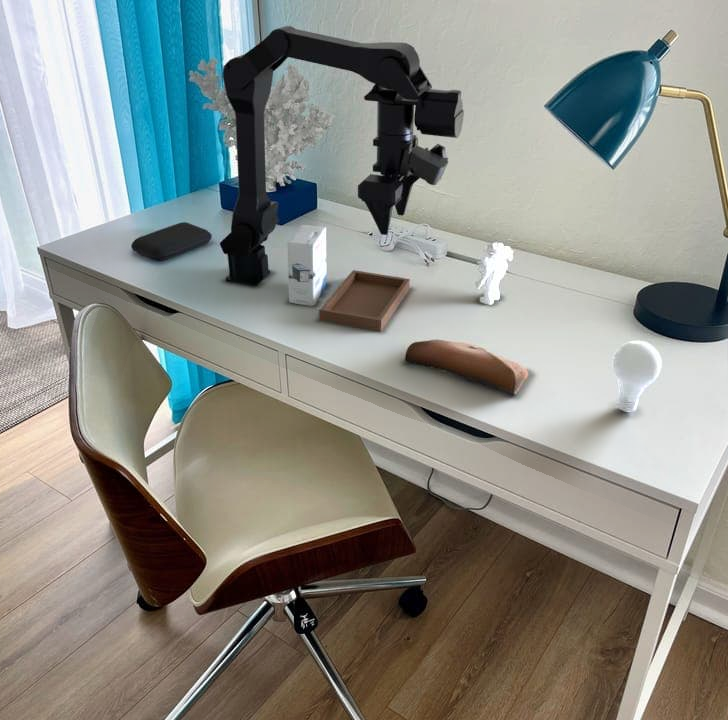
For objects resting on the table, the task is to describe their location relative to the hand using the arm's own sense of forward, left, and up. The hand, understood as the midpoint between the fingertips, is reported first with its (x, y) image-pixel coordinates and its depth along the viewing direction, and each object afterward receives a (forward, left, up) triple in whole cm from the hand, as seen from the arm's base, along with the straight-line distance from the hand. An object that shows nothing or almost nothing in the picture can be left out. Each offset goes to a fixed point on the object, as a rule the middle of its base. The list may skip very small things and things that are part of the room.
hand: (392, 224), depth 124 cm
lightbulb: (+42, -20, -15) cm, 49 cm away
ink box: (-15, -3, -15) cm, 21 cm away
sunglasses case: (+18, -17, -15) cm, 29 cm away
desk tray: (-4, -3, -15) cm, 15 cm away
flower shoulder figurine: (+17, +7, -15) cm, 23 cm away
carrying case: (-49, +7, -15) cm, 52 cm away
